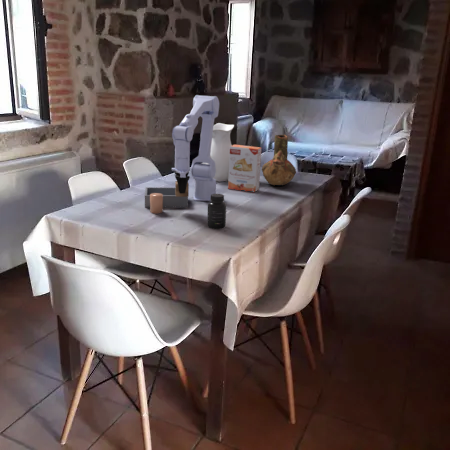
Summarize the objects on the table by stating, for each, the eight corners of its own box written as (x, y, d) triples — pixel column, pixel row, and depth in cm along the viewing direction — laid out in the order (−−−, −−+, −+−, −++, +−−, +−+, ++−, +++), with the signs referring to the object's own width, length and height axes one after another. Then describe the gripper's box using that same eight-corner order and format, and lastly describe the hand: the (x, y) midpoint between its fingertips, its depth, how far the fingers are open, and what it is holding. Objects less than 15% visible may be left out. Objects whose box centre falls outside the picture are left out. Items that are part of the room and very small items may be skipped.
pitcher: (215, 174, 261) (216, 122, 252) (240, 179, 252) (243, 125, 243) (186, 181, 242) (187, 125, 233) (213, 187, 233) (215, 129, 224)
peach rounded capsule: (162, 209, 195) (162, 193, 192) (162, 213, 190) (162, 196, 188) (150, 209, 194) (150, 193, 192) (150, 213, 189) (149, 196, 187)
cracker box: (227, 189, 230) (229, 145, 224) (232, 186, 236) (233, 144, 229) (255, 193, 226) (258, 148, 219) (259, 190, 231) (262, 146, 224)
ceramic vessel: (258, 190, 231) (261, 138, 223) (262, 178, 255) (266, 131, 247) (294, 193, 228) (298, 140, 220) (295, 181, 253) (299, 133, 245)
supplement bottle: (206, 223, 180) (207, 192, 177) (224, 223, 181) (226, 192, 177) (207, 229, 174) (208, 197, 170) (226, 229, 175) (227, 197, 171)
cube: (187, 193, 194) (187, 181, 192) (188, 196, 189) (188, 184, 187) (175, 193, 193) (175, 181, 191) (175, 196, 188) (175, 184, 187)
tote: (186, 198, 212) (186, 187, 210) (187, 207, 199) (188, 195, 197) (145, 198, 209) (145, 187, 208) (144, 207, 197) (144, 195, 195)
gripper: (171, 153, 193) (171, 186, 197) (172, 160, 179) (172, 196, 183) (189, 154, 193) (188, 186, 198) (191, 161, 180) (190, 196, 184)
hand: (181, 191), depth 191 cm, fingers closed on cube, 5 cm apart
